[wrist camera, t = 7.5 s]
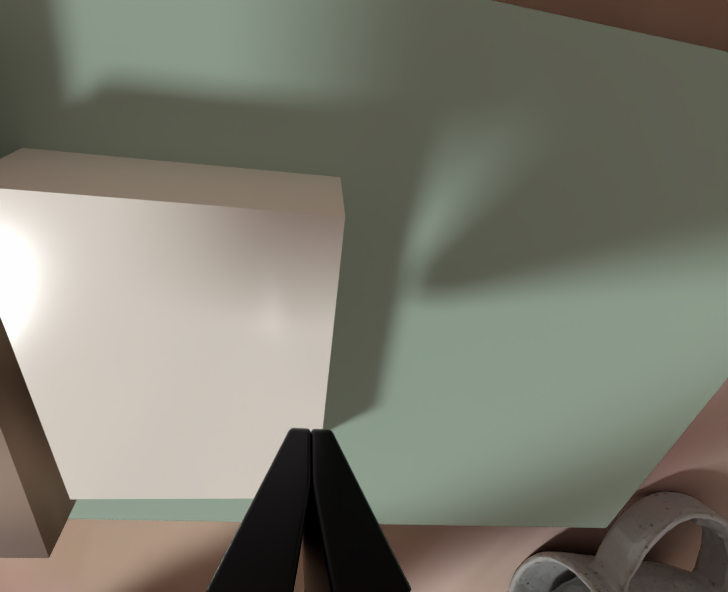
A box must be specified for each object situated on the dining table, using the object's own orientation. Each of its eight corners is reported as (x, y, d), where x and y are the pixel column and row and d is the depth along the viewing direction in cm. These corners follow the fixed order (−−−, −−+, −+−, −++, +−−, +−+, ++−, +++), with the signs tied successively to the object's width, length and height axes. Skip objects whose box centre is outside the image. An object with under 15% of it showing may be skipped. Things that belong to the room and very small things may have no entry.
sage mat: (593, 504, 19) (606, 527, 18) (68, 490, 16) (55, 518, 15) (901, 92, 10) (951, 100, 10) (-108, -128, 7) (-165, -144, 6)
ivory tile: (315, 437, 14) (315, 498, 12) (102, 434, 13) (69, 499, 11) (340, 176, 9) (345, 216, 8) (21, 147, 9) (-50, 184, 7)
